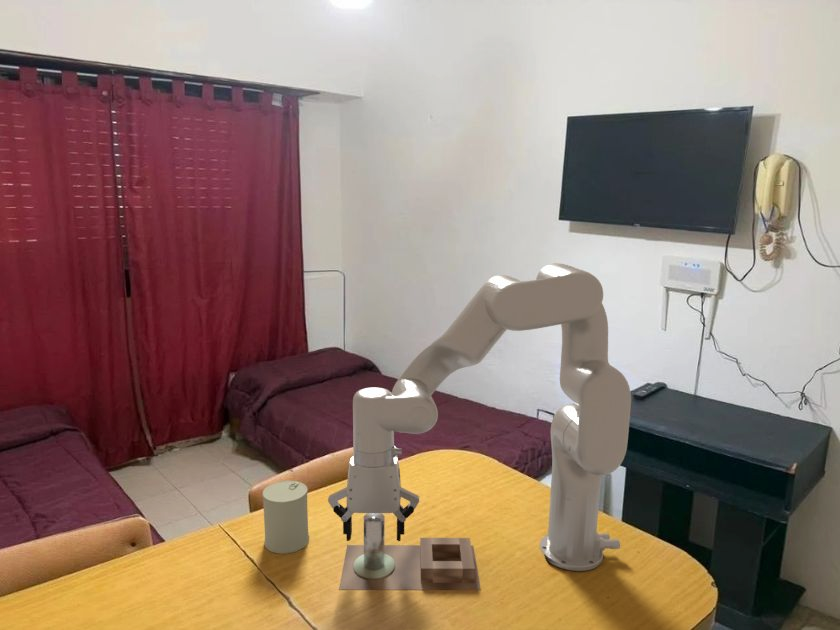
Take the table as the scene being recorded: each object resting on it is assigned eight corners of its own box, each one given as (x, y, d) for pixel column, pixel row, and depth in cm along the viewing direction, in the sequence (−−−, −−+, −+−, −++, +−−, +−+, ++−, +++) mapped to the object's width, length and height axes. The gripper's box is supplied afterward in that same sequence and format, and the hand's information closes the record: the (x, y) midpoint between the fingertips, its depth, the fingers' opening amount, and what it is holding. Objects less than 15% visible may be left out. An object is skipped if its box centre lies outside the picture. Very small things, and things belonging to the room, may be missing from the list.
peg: (384, 558, 118) (385, 512, 116) (383, 570, 114) (384, 523, 112) (364, 558, 118) (364, 511, 116) (363, 570, 114) (362, 523, 112)
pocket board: (473, 549, 124) (473, 532, 123) (480, 594, 110) (481, 575, 109) (347, 549, 123) (346, 531, 123) (339, 594, 110) (338, 575, 109)
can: (318, 535, 128) (316, 484, 126) (290, 558, 120) (288, 504, 118) (284, 524, 132) (282, 474, 130) (255, 546, 124) (252, 493, 122)
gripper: (419, 446, 115) (418, 526, 119) (329, 445, 115) (331, 526, 119) (420, 463, 108) (419, 548, 112) (324, 462, 108) (326, 548, 111)
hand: (374, 537), depth 115 cm, fingers open, 9 cm apart
